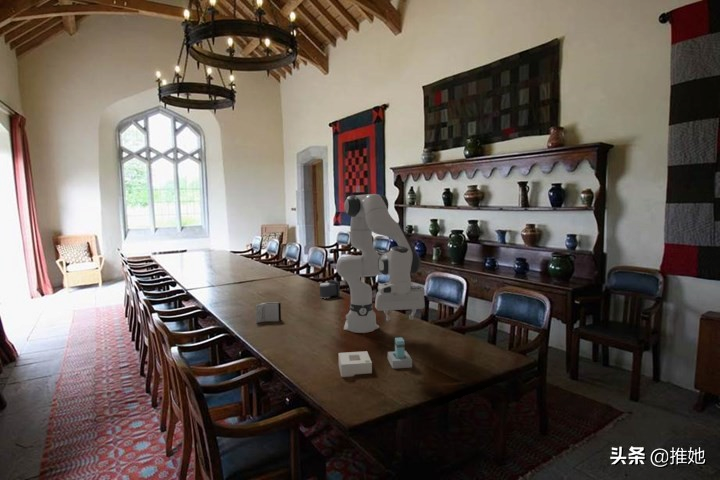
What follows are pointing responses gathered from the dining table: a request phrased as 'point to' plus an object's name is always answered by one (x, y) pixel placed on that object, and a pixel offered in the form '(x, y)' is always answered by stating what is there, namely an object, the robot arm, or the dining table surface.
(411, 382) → the dining table surface
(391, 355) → the holster
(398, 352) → the plug
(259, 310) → the hinge
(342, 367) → the port block
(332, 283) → the dark grey block
